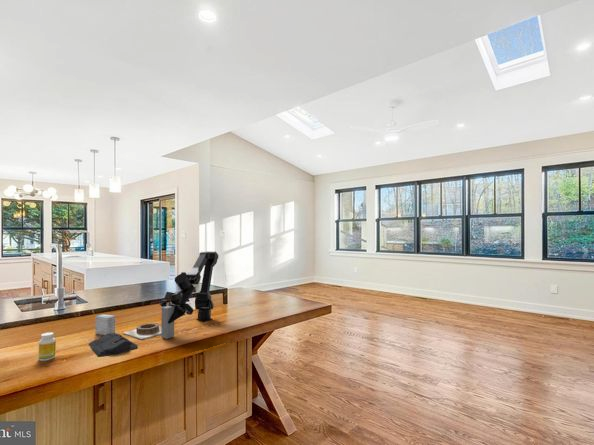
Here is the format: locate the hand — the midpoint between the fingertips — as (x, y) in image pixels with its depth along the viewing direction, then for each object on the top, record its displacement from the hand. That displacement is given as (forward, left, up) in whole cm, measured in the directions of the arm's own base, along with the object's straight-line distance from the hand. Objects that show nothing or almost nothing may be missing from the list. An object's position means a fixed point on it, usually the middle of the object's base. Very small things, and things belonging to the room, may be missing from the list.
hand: (165, 322), depth 152 cm
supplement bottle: (+41, -17, -8) cm, 45 cm away
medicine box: (+13, -30, -8) cm, 34 cm away
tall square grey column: (-1, 0, -7) cm, 7 cm away
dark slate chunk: (+19, -10, -8) cm, 23 cm away
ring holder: (0, -15, -7) cm, 17 cm away
